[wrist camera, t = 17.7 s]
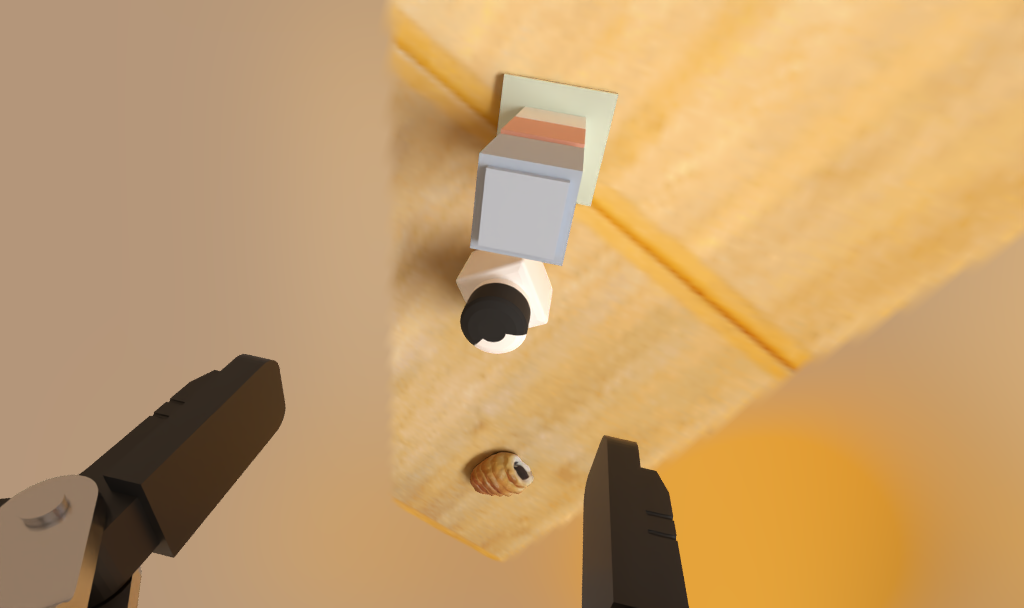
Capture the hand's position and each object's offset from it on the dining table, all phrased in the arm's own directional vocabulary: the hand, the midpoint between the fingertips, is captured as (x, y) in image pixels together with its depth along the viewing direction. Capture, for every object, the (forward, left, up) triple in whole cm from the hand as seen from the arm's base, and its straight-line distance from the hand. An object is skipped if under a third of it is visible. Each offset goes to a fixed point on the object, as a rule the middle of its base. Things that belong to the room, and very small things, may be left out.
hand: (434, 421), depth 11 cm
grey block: (0, 0, -22) cm, 22 cm away
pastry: (+46, +2, -37) cm, 59 cm away
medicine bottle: (+14, -2, -36) cm, 39 cm away
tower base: (0, 0, -36) cm, 36 cm away
